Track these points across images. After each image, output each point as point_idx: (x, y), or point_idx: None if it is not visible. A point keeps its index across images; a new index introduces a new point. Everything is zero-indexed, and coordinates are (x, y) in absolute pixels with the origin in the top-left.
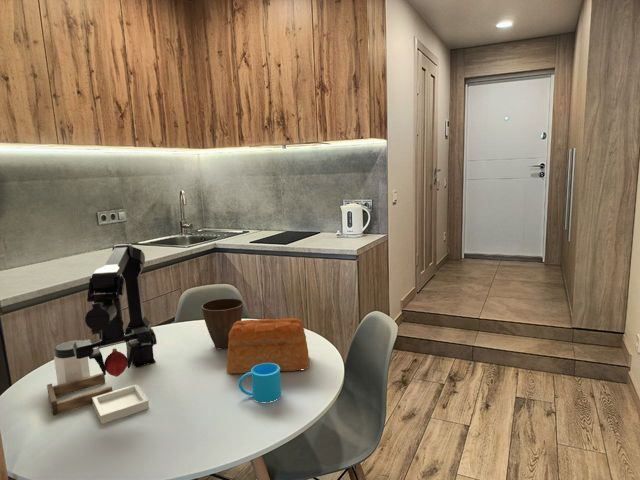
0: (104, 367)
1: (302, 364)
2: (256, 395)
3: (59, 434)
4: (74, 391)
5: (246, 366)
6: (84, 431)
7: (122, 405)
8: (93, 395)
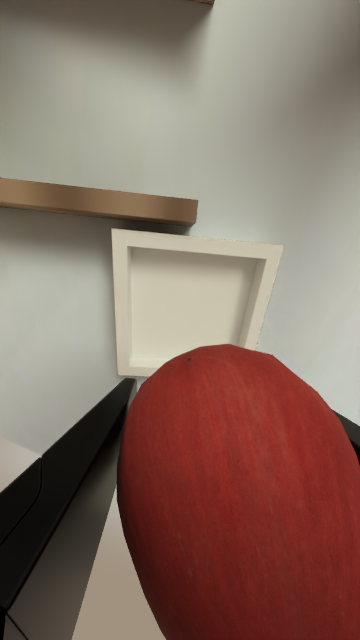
0: (110, 492)
1: None
2: None
3: (25, 337)
4: None
5: None
6: (84, 363)
7: (190, 325)
8: (118, 215)
